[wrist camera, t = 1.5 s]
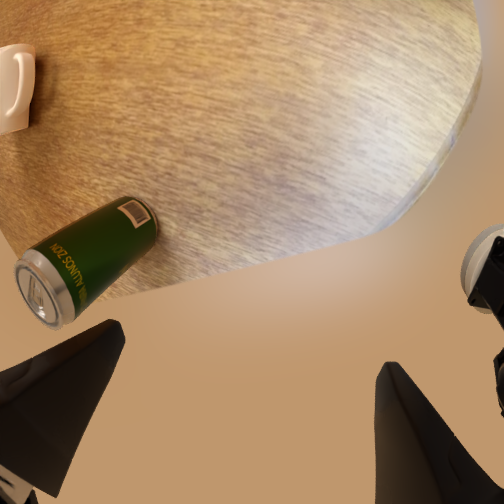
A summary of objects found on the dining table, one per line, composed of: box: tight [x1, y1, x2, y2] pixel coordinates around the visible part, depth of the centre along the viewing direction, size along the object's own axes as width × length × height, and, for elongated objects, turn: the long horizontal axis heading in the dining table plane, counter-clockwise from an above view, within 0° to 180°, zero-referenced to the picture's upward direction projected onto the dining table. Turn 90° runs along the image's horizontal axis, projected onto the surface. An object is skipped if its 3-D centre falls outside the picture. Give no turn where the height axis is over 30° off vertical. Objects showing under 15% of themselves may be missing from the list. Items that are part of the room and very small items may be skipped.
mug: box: [0, 44, 36, 136], centre depth 15 cm, size 12×9×8 cm
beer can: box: [14, 196, 158, 330], centre depth 18 cm, size 5×5×12 cm
